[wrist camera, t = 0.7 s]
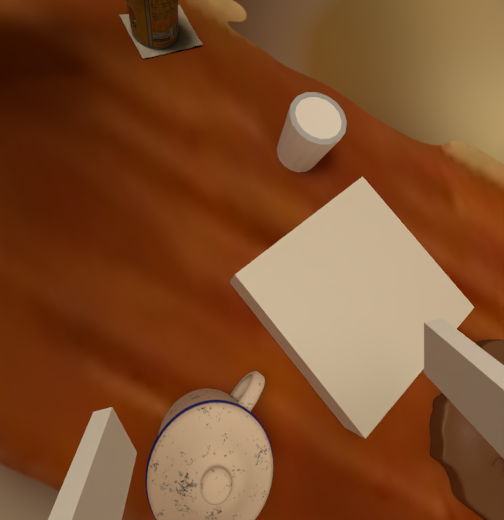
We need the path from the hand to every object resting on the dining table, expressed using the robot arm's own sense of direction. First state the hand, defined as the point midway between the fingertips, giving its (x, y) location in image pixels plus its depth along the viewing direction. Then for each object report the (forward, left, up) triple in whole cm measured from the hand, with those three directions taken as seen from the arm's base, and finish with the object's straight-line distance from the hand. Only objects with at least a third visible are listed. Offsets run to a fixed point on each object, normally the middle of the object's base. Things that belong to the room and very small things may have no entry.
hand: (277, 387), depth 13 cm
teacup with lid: (+4, -4, -21) cm, 21 cm away
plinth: (+4, +16, -20) cm, 26 cm away
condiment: (-38, +20, -21) cm, 48 cm away
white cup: (-14, +24, -21) cm, 35 cm away
